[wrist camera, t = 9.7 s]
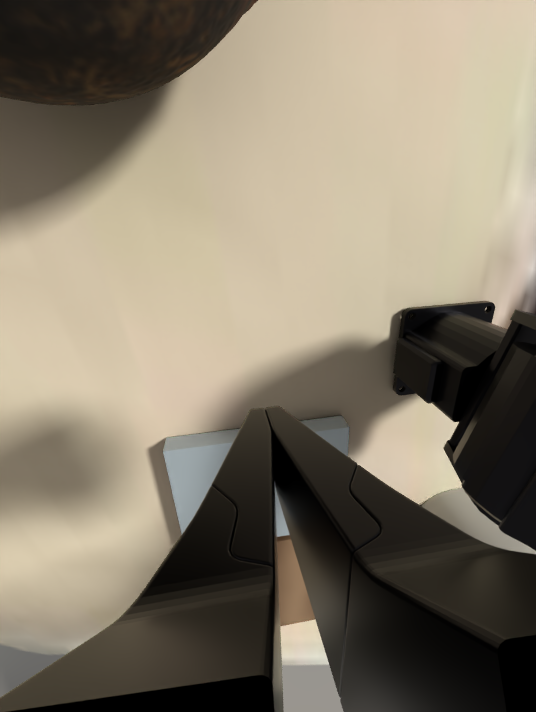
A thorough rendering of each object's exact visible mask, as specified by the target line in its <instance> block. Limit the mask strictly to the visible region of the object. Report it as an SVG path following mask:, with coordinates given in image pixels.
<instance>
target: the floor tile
mask: <svg viewBox="0 0 536 712" xmlns="http://www.w3.org/2000/svg"><path fill="white" fill-rule="evenodd" d="M300 422H302V423H303V424H304V425H306V426H307V427H308V428H310V429H311V430H312V431H314V432H315V433H316V434H318V435H319V436H321V437H322V438H323V439H325V440H326V441H327V442H329V443H330V444H331V445H333V446H334V447H335V448H337V449H338V450H339V451H341V452H342V453H344V454H345V455H346V456H348V442H349V426H348V424H347V423H346V421H345V419H344V418H343V416H334V417H326V418H319V419H311V420H303V421H300ZM239 430H240V428H239V429H231V430H223V431H215V432H207V433H199V434H191V435H183V436H176V437H168V438H166V441H165V445H164V450H163V454H164V458H165V462H166V467H167V471H168V476H169V480H170V485H171V489H172V494H173V498H174V502H175V507H176V511H177V516H178V520H179V525H180V529H181V534H183V532H184V531H185V529H186V528H187V526H188V525H189V523H190V522H191V520H192V519H193V517H194V515H195V514H196V512H197V510H198V508H199V507H200V505H201V503H202V501H203V500H204V498H205V496H206V494H207V492H208V490H209V488H210V487H211V484H212V482H213V480H214V479H215V477H216V475H217V473H218V471H219V469H220V467H221V465H222V463H223V461H224V459H225V457H226V455H227V453H228V451H229V449H230V448H231V446H232V444H233V442H234V440H235V438H236V436H237V434H238V432H239ZM275 502H276V528H277V537H280V536H286V535H290V534H289V531H288V528H287V524H286V521H285V518H284V515H283V511H282V508H281V505H280V502H279V498H278V495H277V491H276V488H275Z"/></svg>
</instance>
